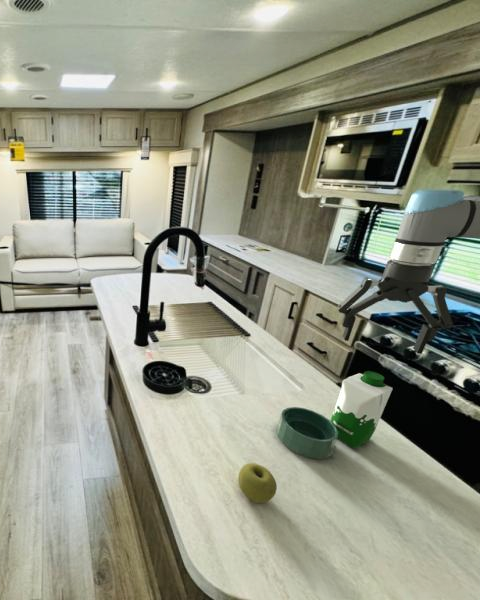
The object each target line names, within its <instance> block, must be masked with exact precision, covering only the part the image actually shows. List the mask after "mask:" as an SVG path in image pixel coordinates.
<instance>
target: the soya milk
mask: <svg viewBox="0 0 480 600" xmlns="http://www.w3.org/2000/svg"><path fill="white" fill-rule="evenodd" d="M384 381H385V376H383V375H382V374H380V373H378V372H375V371H371V370H367V371H364V372H363V373H360V372H358V373H357V374H354V375H351V376H348V377H346V378H345V379H343V380H342V383H341V390H340V391H339V395H338V398H337V401H336V404H335V406H334V409H333V412H332V415H331V418H330V421H331V422H332V423H333V424H334V425H335V426H336V428H337V431H338V437H337V439H339V440H340V441H342V442H343V443H344V444H347V445H348V446H349V447H351V448H352V449H357V448H358V447H359V446H361V445H363V444H365V443H367V442H369V441H370V440H371V438H372V437H373V435H374V433H375V431H376V429H377V427H378V424H379V422H380V420H381V417H382V415H383V413H384V410H385V407H386V406H387V403H388V400H389V398H390V396H391V393H392V391H393V387H392V386H389V385H387V384H385V383H384Z"/></svg>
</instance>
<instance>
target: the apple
mask: <svg viewBox="0 0 480 600" xmlns="http://www.w3.org/2000/svg"><path fill="white" fill-rule="evenodd" d="M237 479H238V485H239V488H240V490H241V492H242V493H243V495H244V496H245V497H247V499H248V500H250V501H252V502H255V503H257V504H265V503H268V502H270V501H271V500H272V499H273V498H274V497H275V495H276V494H277V487H278V486H277V481H276V479H275V476H274V475H273V474H272V473H271V471H270V470H269V469H268V468H266V467H265V466H264V465H261V464H259V463H254V462H248V463H246V464H244V465H243V466H241V468H240V469H239V472H238V477H237Z"/></svg>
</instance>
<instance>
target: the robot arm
mask: <svg viewBox="0 0 480 600" xmlns="http://www.w3.org/2000/svg"><path fill="white" fill-rule="evenodd" d="M447 238H463V239H465V238H466V239H479V240H480V195H470V194H469V195H465V192H464V191H463V190H461V189H419V190H416V191H415V192H414V193H412V194H411V196H410V198H409V200H408V203H407V205H406V207H405V209H404V211H403V216H402V219H401V222H400V225H399V228H398V231H397V234H396V237H395V240H394V242H393V245H392V248H391V250H390V253H389V256H388V257H389V259H390V260H388V261H386V265H385V266H384V267H385V268H384V270H383V273H382V276H381V277H380V279H379V280H377V279H371V278H370V277H364V278H363V279H362V280H361V282H360V285H359V286H358V287H357V288H356V289H355V290H353V291H352V292H351V293H350V294H349V295H348V296H347V297H346V298H344V299H343V301H341V303H340V304H338V305H337V306H336V309H337V311H338V313H340V314H342V315H343V318H342V321H341V326H342V327H343V328H344V331H343V334H342V338H343V340H344V341H347V342H349V340H350V337H351V334H352V331H353V327H354V325H355V322H356V319H357V317H356V316H355V315H356V314H359V313H360V312H362V311H364V310H366V309H368V308H369V307H372V306H373V305H376V304H378V302H383V301H384V300H388V301H390V302H400V303H410V302H412V303H413V305H414V306H415V307H416V309H417V310H418V311H419V313H420V315H421V316H422V317H423V318H424V319H425V321H426V322H427V324H425V323H423V324H422V325H421V328H420V330H419V333H418V335H417V338H416V340H415V343H414V345H413V348H412V349H413V350H414V351H415V353H416V354H419V355H423V352H424V350H425V348H426V345H427V344H428V342H433V341H434V340H435V338H436V335H437V333H438V332H439V331H442V330H443V329H453V327H454V324H453V321H452V317H451V314H450V310H449V307H448V304H447V300H446V294H447V288H446V287H445V286H443V285H441V284H438V283H437V284H435V285H429V284H428V283H429V281H430V279H431V276H432V273H433V272H434V269H435V266H434V265H433V264H436V263H437V261H438V259H439V257H440V254H441V251H442V249H443V247H444V245H445V242H446V240H447ZM376 286H377V288H378V290H377V291H374V292H373V293H372V294H370V295H369V296H367V297H365V298H364V299H362V300H360V301H358V300H359V299H361V298H362V297H363V296H364V295H365V294H366V293H367V292H368V291H369V290H370V289H373V288H374V287H376ZM427 292H429V295H430V296H432V299H433V303H434V306H435V309H436V312H437V315H438V319H439V320H437V319H436V318H435V317H434V315H433V314H432V313H431V311H430V310H429V308H428V307H427V305H425V303H424V301H423V300H422V298H421V297H420V296H423V295H424V294H426V293H427ZM357 301H358V302H357ZM356 302H357V303H356Z"/></svg>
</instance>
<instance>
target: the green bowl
mask: <svg viewBox="0 0 480 600" xmlns="http://www.w3.org/2000/svg"><path fill="white" fill-rule="evenodd" d="M276 433H277V437H278V438H279V440H280V441H281V443H282V444H283V445H285V446H286V447H287V448H288V449H289V450H290V451H292V452H295V453H297V454H298V455H301V456H303V457H306V458H309V459H315V460H322V459H327V458H329V457H330V456H332V454H333V451H334V448H335V445H336V443H337V440H338V438H337V437H338V431H337V428H336V426H335V425H334V424H333V423H332V422H331V419H328V418H327V417H325V416H324V415H322V414H320V413H319V412H316V411H314V410H312V409H308V408H304V407H297V406H291V407H286V408H285V409H283V410H282V411H281V413H280V417H279V421H278V425H277V428H276Z"/></svg>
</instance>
